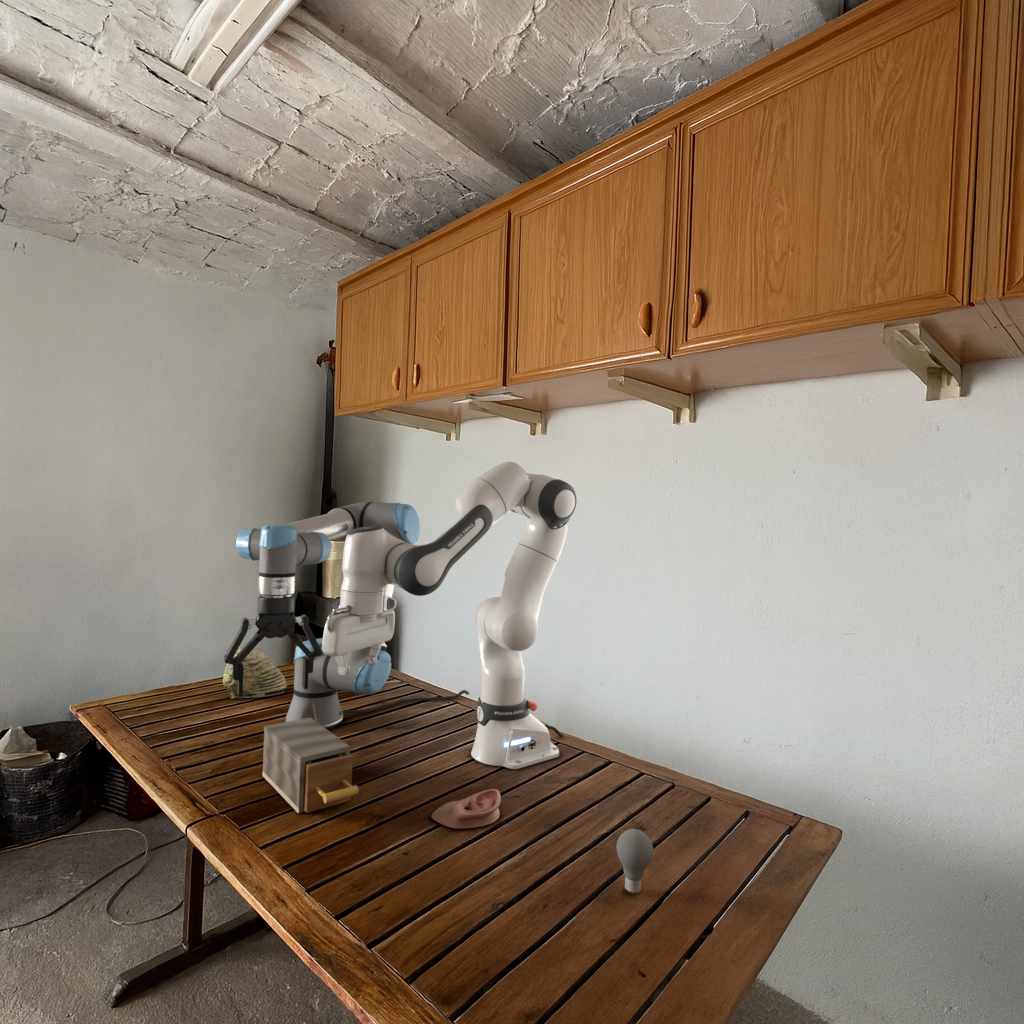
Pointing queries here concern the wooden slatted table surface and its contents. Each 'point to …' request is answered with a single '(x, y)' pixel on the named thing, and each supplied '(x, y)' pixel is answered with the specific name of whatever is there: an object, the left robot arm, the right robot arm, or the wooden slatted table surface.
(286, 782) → the cabinet
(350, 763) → the drawer
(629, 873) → the light bulb
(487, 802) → the anatomical model
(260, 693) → the fossil
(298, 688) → the left robot arm
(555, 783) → the wooden slatted table surface
